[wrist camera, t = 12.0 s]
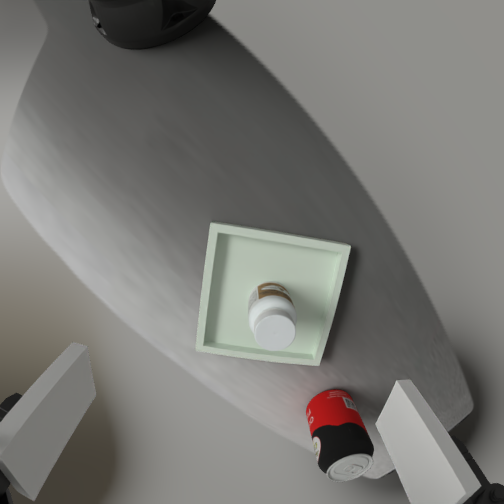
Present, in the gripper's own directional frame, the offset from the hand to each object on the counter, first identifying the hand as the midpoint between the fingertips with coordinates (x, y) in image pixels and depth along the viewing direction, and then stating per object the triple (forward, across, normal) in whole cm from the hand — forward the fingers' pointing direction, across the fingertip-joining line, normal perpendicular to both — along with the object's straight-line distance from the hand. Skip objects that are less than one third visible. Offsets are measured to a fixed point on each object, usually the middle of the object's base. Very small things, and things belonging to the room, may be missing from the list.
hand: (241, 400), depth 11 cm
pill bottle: (+20, +3, -4) cm, 21 cm away
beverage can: (+20, +13, -18) cm, 30 cm away
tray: (+20, +3, -3) cm, 21 cm away
